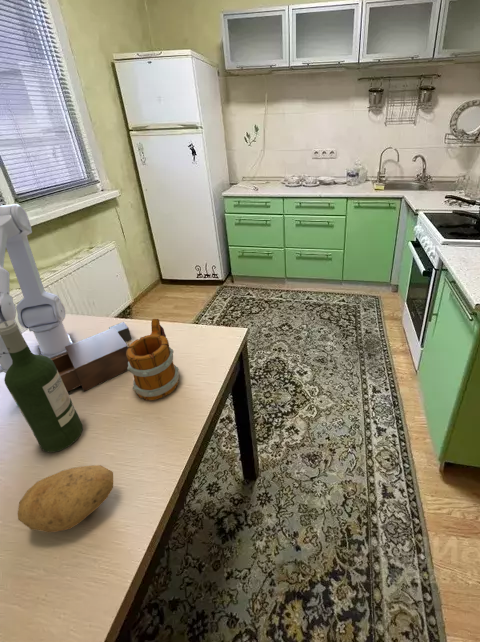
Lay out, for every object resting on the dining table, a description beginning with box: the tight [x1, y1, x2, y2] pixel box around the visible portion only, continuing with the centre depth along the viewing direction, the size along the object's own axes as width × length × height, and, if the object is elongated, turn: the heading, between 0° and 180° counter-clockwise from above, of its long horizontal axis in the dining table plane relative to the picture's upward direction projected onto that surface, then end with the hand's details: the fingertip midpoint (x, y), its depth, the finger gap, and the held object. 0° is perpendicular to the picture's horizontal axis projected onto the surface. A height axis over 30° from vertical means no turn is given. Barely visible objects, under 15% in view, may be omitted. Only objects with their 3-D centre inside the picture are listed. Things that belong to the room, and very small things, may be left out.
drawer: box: [51, 352, 82, 393], centre depth 82 cm, size 16×10×6 cm, turn 132°
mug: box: [126, 318, 180, 401], centre depth 83 cm, size 11×16×15 cm, turn 5°
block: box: [108, 321, 133, 343], centre depth 101 cm, size 4×4×4 cm
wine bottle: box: [0, 321, 84, 453], centre depth 64 cm, size 8×8×30 cm
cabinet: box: [65, 327, 129, 392], centre depth 88 cm, size 13×12×8 cm
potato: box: [17, 464, 114, 533], centre depth 56 cm, size 10×14×8 cm
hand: (32, 389), depth 79 cm, fingers closed, pressing on drawer
